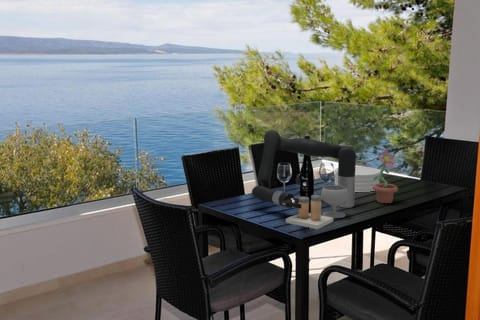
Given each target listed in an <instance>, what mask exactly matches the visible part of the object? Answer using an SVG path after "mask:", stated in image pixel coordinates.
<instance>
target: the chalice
mask: <svg viewBox="0 0 480 320" xmlns="http://www.w3.org/2000/svg"><path fill="white" fill-rule="evenodd" d="M320 192H321V193H320V195H321V201H323V202H325V203H326V204H328V205H330V207H331V209H332V210H331V211H324V212H323V213H321V215H322V216H327V217H332V218H333V219H341V218H345V217H346V214H345V213H344V212H341V211H337V207H339V206H338V205H340V204H342V203H344V202H345V201H346V200H347V199H348V191H347V189H346V187H344V186H339V185H335V184H330V185H329V184H327V185H324V186H322V189H321V191H320Z"/></svg>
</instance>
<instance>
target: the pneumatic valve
mask: <svg viewBox="0 0 480 320" xmlns="http://www.w3.org/2000/svg"><path fill="white" fill-rule="evenodd" d="M300 174H301V173H300ZM300 174H299V173H298V174H297V175H296V178H295V183H296V185H298V186H301V185H300ZM315 179H316V177H314V181H315Z"/></svg>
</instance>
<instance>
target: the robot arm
mask: <svg viewBox="0 0 480 320" xmlns="http://www.w3.org/2000/svg"><path fill="white" fill-rule="evenodd" d="M276 151H285V152H290V153H294V154H299V155H302V156H308V157H313V158H316V157H317V158H319V157H320V158H331V159H332V158H333V159H335V160H338V165H337V166H338V167H337V168H338V185H339V186H344V187H346V189H347V191H348V199H347V200H346V201H345V202H344V203H342V204H340V205H338V206H337V207H339V208H344V209H345V208H347V209H349V208H353V207H355V195H356V193H355V167H356V166H357V165H356V161H357V155H356V151H355V149H354V148H353V147H351V146H350V145H340V144H331V143H328V142H324V141H320V140H316V139H311V138H305V137H304V138H303V137H300V138H287V137H283V136H281V135H280V132H278V131H277V130H276V129H270V130H268V131H267V132H265V134H264V137H263V152H262V157H261V162H260V166H259V171H258V176H257V182H258V183H259V184H260V185H256V186H254V187H253V188H252V190H251V194H252V197H253V198H254V199H257V200H259V201H262V202H269V203H270V204H275V205H277V206H279V207H283V208H289V209H291V208H297V209H298V210H299V209H300V208H301V204H299V197H297V196H295V195H293V193H291V192H286V191H282V190H275V189H271V188H272V187H271V178H272V175H273V167H274V159H275V154H276ZM309 206H311V199H309Z"/></svg>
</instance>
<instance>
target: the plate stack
mask: <svg viewBox="0 0 480 320" xmlns="http://www.w3.org/2000/svg"><path fill="white" fill-rule="evenodd" d="M379 172H380V170H379V169H377V168H375V167H368V166H360V165H359V166H357V165H356V167H355V192H370V191H375V190H374V189H373V186H374V185H375V184H378V183H381V182H380V181H379V180H378V178H377V179H376V180H373V179H374V177H376V176H379ZM334 185H338V167H336V168H334ZM370 193H371V192H370Z"/></svg>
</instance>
